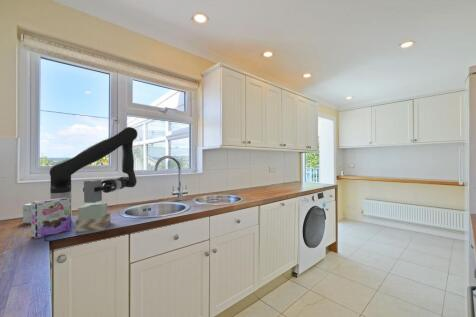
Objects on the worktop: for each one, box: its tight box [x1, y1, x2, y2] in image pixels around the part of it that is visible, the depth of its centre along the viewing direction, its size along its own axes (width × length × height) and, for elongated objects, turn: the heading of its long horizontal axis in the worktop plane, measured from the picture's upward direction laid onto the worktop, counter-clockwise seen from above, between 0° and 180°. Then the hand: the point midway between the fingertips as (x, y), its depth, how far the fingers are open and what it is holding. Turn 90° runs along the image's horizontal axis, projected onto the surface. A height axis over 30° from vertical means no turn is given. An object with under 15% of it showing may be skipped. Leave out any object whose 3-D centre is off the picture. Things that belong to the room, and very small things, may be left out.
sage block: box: [77, 202, 108, 220], centre depth 115 cm, size 10×10×6 cm
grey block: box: [83, 179, 103, 204], centre depth 115 cm, size 6×6×11 cm
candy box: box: [30, 197, 72, 239], centre depth 106 cm, size 14×6×16 cm, turn 148°
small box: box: [22, 202, 31, 224], centre depth 126 cm, size 8×6×10 cm
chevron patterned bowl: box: [75, 212, 112, 233], centre depth 116 cm, size 12×12×6 cm
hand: (89, 189), depth 113 cm, fingers closed on grey block, 5 cm apart
